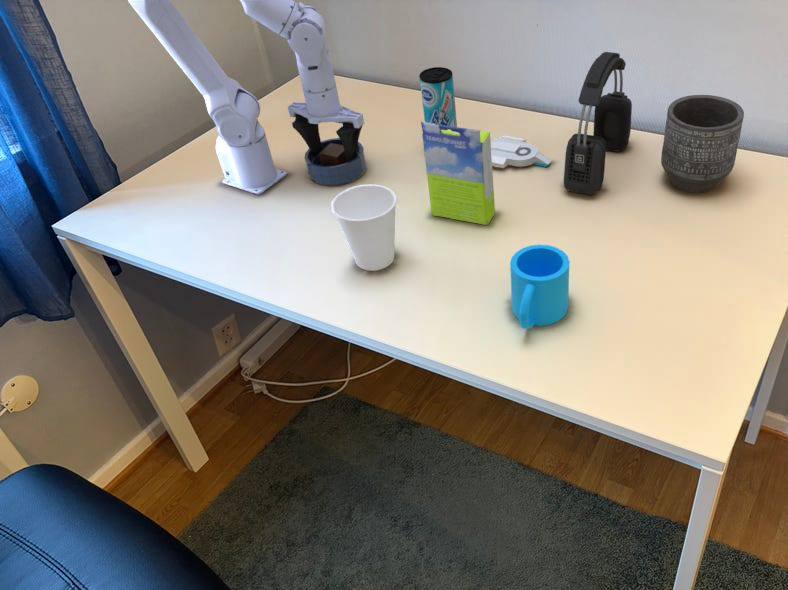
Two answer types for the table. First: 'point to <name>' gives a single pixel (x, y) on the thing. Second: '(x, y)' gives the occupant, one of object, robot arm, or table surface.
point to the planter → (701, 141)
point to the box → (459, 172)
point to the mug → (539, 285)
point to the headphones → (598, 127)
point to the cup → (368, 224)
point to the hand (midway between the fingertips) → (334, 156)
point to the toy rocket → (515, 153)
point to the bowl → (335, 167)
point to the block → (333, 155)
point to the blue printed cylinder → (438, 96)
